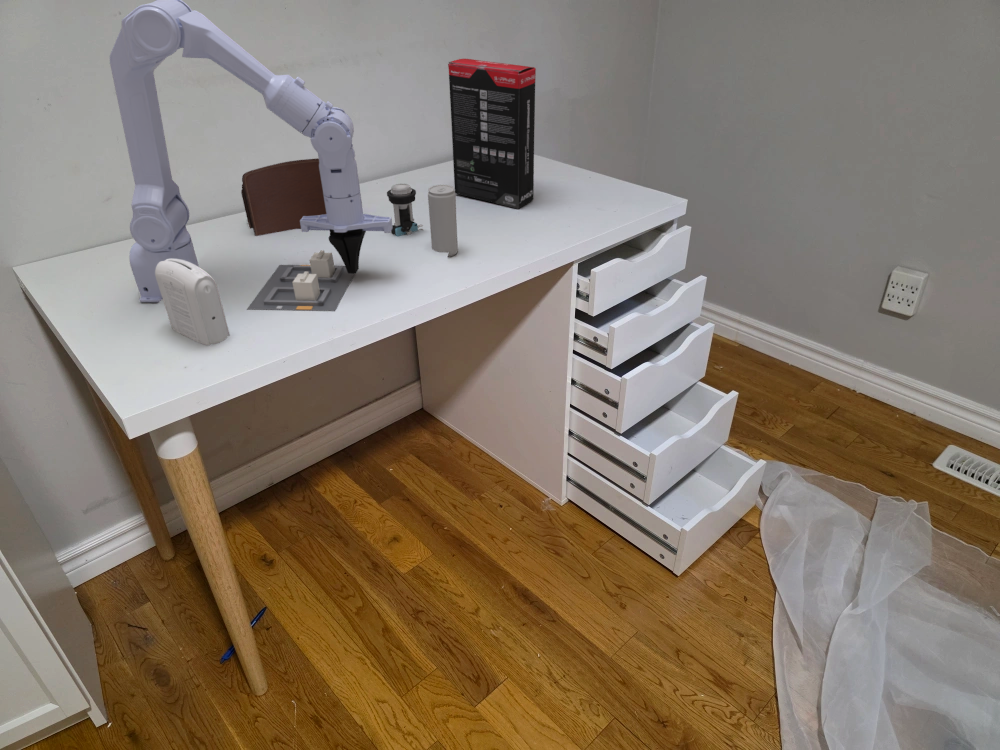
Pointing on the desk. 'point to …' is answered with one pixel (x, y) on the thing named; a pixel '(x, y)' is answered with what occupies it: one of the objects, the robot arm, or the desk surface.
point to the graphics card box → (493, 130)
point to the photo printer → (192, 301)
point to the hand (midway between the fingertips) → (353, 270)
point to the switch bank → (283, 297)
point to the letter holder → (282, 195)
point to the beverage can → (443, 219)
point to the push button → (403, 209)
